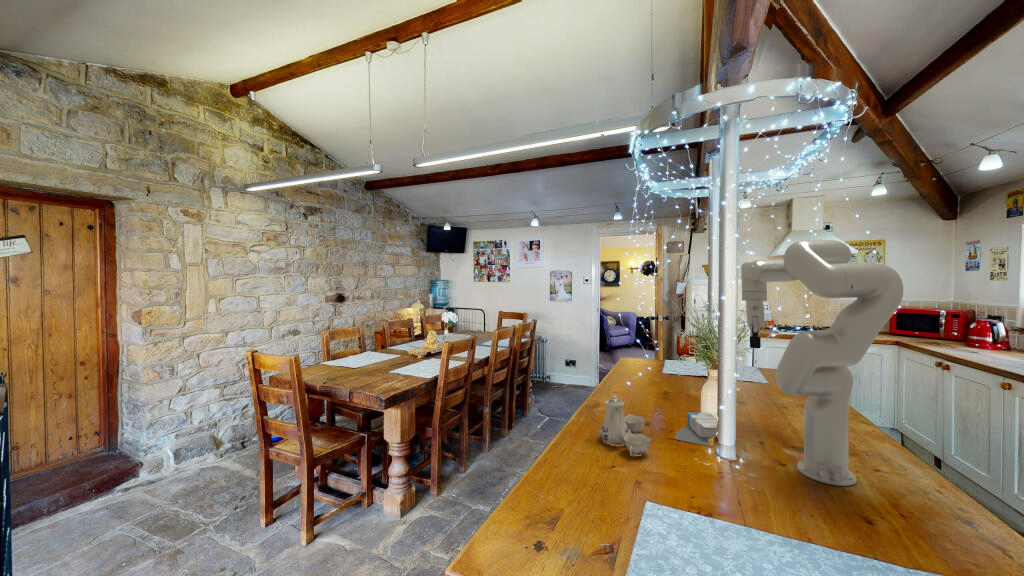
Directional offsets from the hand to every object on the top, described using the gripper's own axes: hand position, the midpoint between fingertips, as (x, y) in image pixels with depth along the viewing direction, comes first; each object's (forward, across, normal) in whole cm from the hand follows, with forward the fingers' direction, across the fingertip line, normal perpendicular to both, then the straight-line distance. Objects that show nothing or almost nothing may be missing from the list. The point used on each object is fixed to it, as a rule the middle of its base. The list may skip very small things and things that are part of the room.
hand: (755, 347), depth 137 cm
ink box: (+27, -4, +18) cm, 33 cm away
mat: (+30, -13, +20) cm, 38 cm away
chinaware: (+30, -30, +40) cm, 58 cm away
